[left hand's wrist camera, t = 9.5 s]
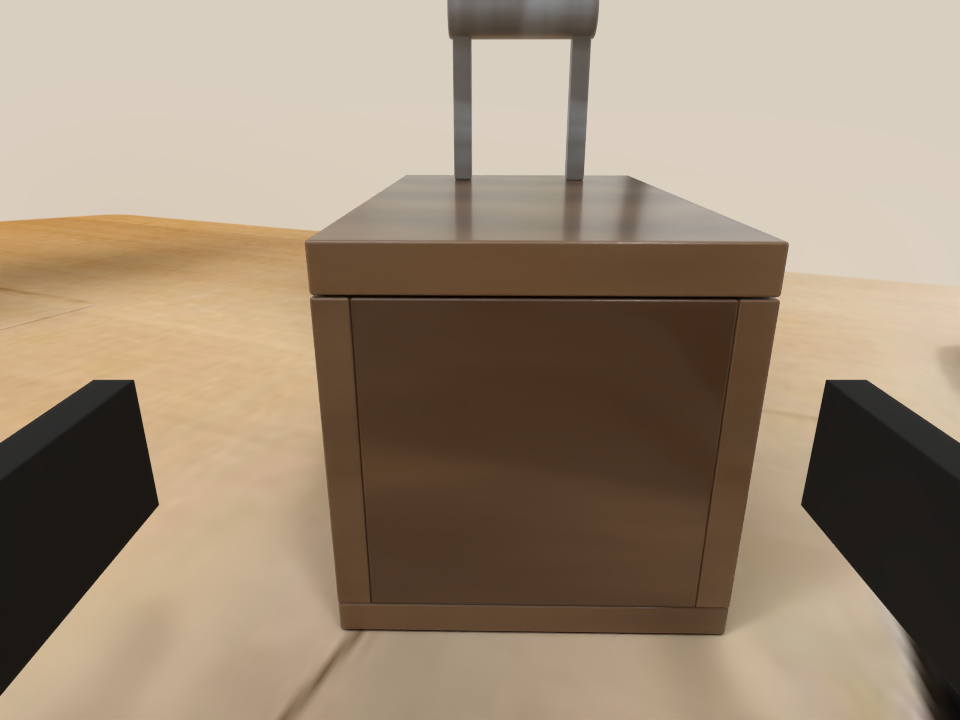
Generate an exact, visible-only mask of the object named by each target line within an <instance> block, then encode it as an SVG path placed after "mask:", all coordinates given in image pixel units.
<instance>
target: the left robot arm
mask: <svg viewBox="0 0 960 720" xmlns="http://www.w3.org/2000/svg"><path fill="white" fill-rule="evenodd" d="M158 505H159V503H158V498H157V493H156V488H155V483H154V478H153V473H152V468H151V463H150V458H149V453H148V448H147V443H146V438H145V433H144V428H143V423H142V418H141V413H140V408H139V403H138V398H137V393H136V388H135V383H134V380H93V381H91V382H90V383H88V384H87V385H85V386H84V387H82V388H81V389H79V390H78V391H76V392H75V393H73V394H72V395H71V396H69V397H68V398H66V399H65V400H63V401H62V402H60V403H59V404H57V405H56V406H54V407H53V408H51V409H50V410H48V411H47V412H45V413H44V414H42V415H41V416H39V417H38V418H37V419H35V420H34V421H32V422H31V423H29V424H28V425H26V426H25V427H23V428H22V429H20V430H19V431H17V432H16V433H14V434H13V435H11V436H10V437H8V438H7V439H5V440H4V441H3V442H1V443H0V696H1V694H2V693H3V692H4V691H5V690H6V688H7V687H8V686H9V685H10V684H11V682H12V681H13V680H14V679H15V678H16V676H17V675H18V674H19V673H20V672H21V670H22V669H23V668H24V667H25V666H26V664H27V663H28V662H29V661H30V660H31V658H32V657H33V656H34V655H35V654H36V652H37V651H38V650H39V649H40V647H41V646H42V645H43V644H44V643H45V641H46V640H47V639H48V638H49V637H50V635H51V634H52V633H53V632H54V631H55V629H56V628H57V627H58V626H59V625H60V623H61V622H62V621H63V620H64V619H65V617H66V616H67V615H68V614H69V613H70V611H71V610H72V609H73V608H74V607H75V605H76V604H77V603H78V602H79V601H80V599H81V598H82V597H83V596H84V595H85V593H86V592H87V591H88V590H89V589H90V587H91V586H92V585H93V584H94V582H95V581H96V580H97V579H98V578H99V576H100V575H101V574H102V573H103V572H104V570H105V569H106V568H107V567H108V566H109V564H110V563H111V562H112V561H113V560H114V558H115V557H116V556H117V555H118V554H119V552H120V551H121V550H122V549H123V548H124V546H125V545H126V544H127V543H128V542H129V540H130V539H131V538H132V537H133V536H134V534H135V533H136V532H137V531H138V530H139V528H140V527H141V526H142V525H143V524H144V522H145V521H146V520H147V519H148V518H149V516H150V515H151V514H152V513H153V511H154V510H155V509H156V508H157V507H158ZM801 505H802V507H803V508H804V509H805V510H806V511H807V513H808V514H809V515H810V516H811V518H812V519H813V520H814V521H815V522H816V524H817V525H818V526H819V527H820V528H821V530H822V531H823V532H824V533H825V534H826V536H827V537H828V538H829V539H830V540H831V542H832V543H833V544H834V545H835V546H836V548H837V549H838V550H839V551H840V552H841V554H842V555H843V556H844V557H845V558H846V560H847V561H848V562H849V563H850V564H851V566H852V567H853V568H854V569H855V570H856V572H857V573H858V574H859V575H860V576H861V578H862V579H863V580H864V581H865V582H866V584H867V585H868V586H869V587H870V589H871V590H872V591H873V592H874V593H875V595H876V596H877V597H878V598H879V599H880V601H881V602H882V603H883V604H884V605H885V607H886V608H887V609H888V610H889V611H890V613H891V614H892V615H893V616H894V617H895V619H896V620H897V621H898V622H899V623H900V625H901V626H902V627H903V628H904V629H905V631H906V632H907V633H908V634H909V635H910V637H911V638H912V639H913V640H914V641H915V643H916V644H917V645H918V646H919V647H920V649H921V650H922V651H923V652H924V654H925V655H926V656H927V657H928V658H929V660H930V661H931V662H932V663H933V664H934V666H935V667H936V668H937V669H938V670H939V672H940V673H941V674H942V675H943V676H944V678H945V679H946V680H947V681H948V682H949V684H950V685H951V686H952V687H953V688H954V690H955V691H956V692H957V693H958V694H959V696H960V443H959V442H957V441H956V440H955V439H953V438H952V437H950V436H949V435H947V434H946V433H944V432H943V431H941V430H940V429H938V428H937V427H935V426H934V425H932V424H931V423H929V422H928V421H926V420H925V419H923V418H922V417H921V416H919V415H918V414H916V413H915V412H913V411H912V410H910V409H909V408H907V407H906V406H904V405H903V404H901V403H900V402H898V401H897V400H895V399H894V398H892V397H891V396H889V395H888V394H887V393H885V392H884V391H882V390H881V389H879V388H878V387H876V386H875V385H873V384H872V383H870V382H869V381H867V380H826V383H825V388H824V393H823V398H822V403H821V408H820V413H819V418H818V423H817V428H816V433H815V438H814V443H813V448H812V453H811V458H810V463H809V468H808V473H807V478H806V483H805V488H804V493H803V498H802V503H801Z"/></svg>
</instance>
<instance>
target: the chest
mask: <svg viewBox="0 0 960 720" xmlns="http://www.w3.org/2000/svg"><path fill="white" fill-rule="evenodd" d="M779 304H780V301H779V300H778V299H776V298H775V297H647V296H440V295H313V296H312V297H311V299H310V305H311V316H312V326H313V337H314V348H315V358H316V369H317V380H318V391H319V401H320V412H321V423H322V433H323V444H324V455H325V465H326V476H327V487H328V498H329V508H330V519H331V530H332V540H333V551H334V562H335V572H336V583H337V594H338V602H339V612H340V623H341V628H343V629H394V630H470V631H546V632H622V633H698V634H723V633H724V631H725V625H726V619H727V613H728V607H729V605H730V599H731V593H732V587H733V581H734V575H735V569H736V563H737V557H738V551H739V544H740V538H741V532H742V526H743V520H744V514H745V508H746V502H747V496H748V490H749V484H750V478H751V472H752V466H753V460H754V454H755V448H756V442H757V436H758V430H759V424H760V418H761V412H762V406H763V400H764V394H765V388H766V382H767V376H768V370H769V364H770V358H771V352H772V346H773V340H774V334H775V328H776V322H777V316H778V310H779Z"/></svg>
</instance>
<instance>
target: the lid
mask: <svg viewBox="0 0 960 720" xmlns="http://www.w3.org/2000/svg"><path fill="white" fill-rule="evenodd" d="M598 13H599V0H448V31H449V37H450V39H453V88H454V166H455V167H454V168H455V175H406V176H404V177H403V178H401V179H400V180H398V181H397V182H395V183H394V184H392V185H391V186H389V187H388V188H386V189H384V190H383V191H381V192H380V193H378V194H377V195H375V196H374V197H372V198H371V199H369V200H368V201H366V202H365V203H363V204H361V205H360V206H358V207H357V208H355V209H354V210H352V211H351V212H349V213H348V214H346V215H345V216H343V217H342V218H340V219H338V220H337V221H335V222H334V223H332V224H331V225H329V226H328V227H326V228H325V229H323V230H322V231H320V232H319V233H317V234H315V235H314V236H312V237H311V238H309V239H308V240H306V242H305V249H306V260H307V271H308V282H309V292H310V294H312V295H440V296H647V297H779V296H780V295H781V289H782V283H783V277H784V271H785V265H786V259H787V253H788V247H789V244H788V242H786V241H783V240H781V239H779V238H776V237H774V236H771V235H769V234H767V233H764V232H762V231H759V230H757V229H754V228H752V227H750V226H747V225H745V224H742V223H740V222H738V221H735V220H733V219H730V218H728V217H726V216H723V215H721V214H718V213H716V212H714V211H711V210H709V209H706V208H704V207H702V206H699V205H697V204H694V203H692V202H690V201H687V200H685V199H682V198H680V197H678V196H675V195H673V194H670V193H668V192H666V191H663V190H661V189H658V188H656V187H654V186H651V185H649V184H646V183H644V182H642V181H639V180H637V179H634V178H632V177H630V176H584V160H585V141H586V123H587V104H588V85H589V67H590V48H591V39H593V38H594V36H595V33H596V29H597V22H598ZM471 39H571V52H570V75H569V97H568V120H567V143H566V165H565V176H520V175H519V176H517V175H516V176H514V175H509V176H508V175H507V176H506V175H472V56H471V54H472V53H471Z"/></svg>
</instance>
